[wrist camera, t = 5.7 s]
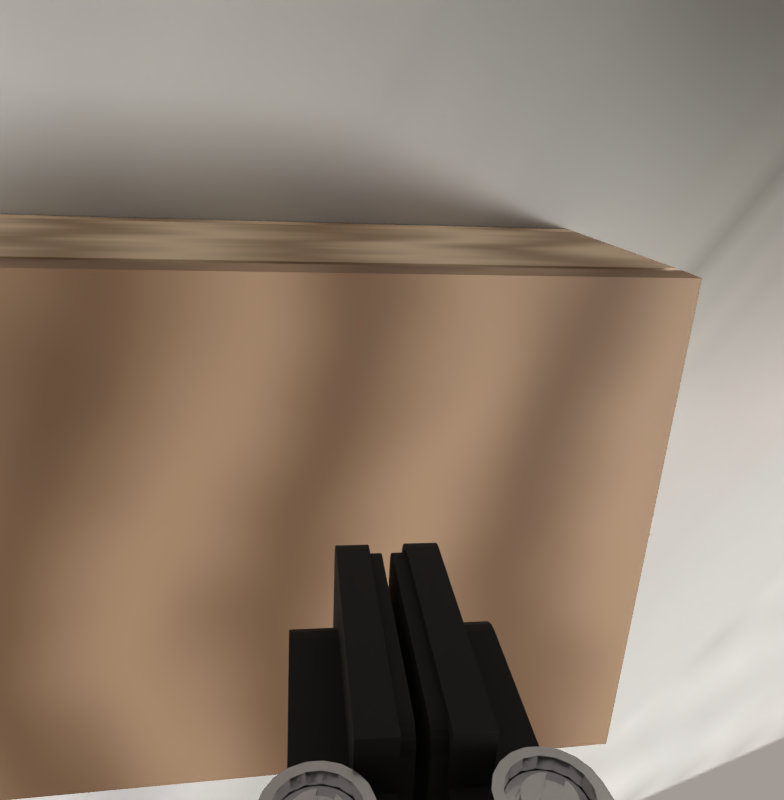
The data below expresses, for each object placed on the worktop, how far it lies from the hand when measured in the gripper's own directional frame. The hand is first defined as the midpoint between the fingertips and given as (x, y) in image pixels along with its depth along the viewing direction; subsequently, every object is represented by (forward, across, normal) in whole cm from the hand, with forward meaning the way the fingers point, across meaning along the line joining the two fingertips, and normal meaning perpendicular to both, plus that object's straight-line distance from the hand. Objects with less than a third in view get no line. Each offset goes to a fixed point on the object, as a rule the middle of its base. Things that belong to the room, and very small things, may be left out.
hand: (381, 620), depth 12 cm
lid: (+9, +1, +4) cm, 9 cm away
